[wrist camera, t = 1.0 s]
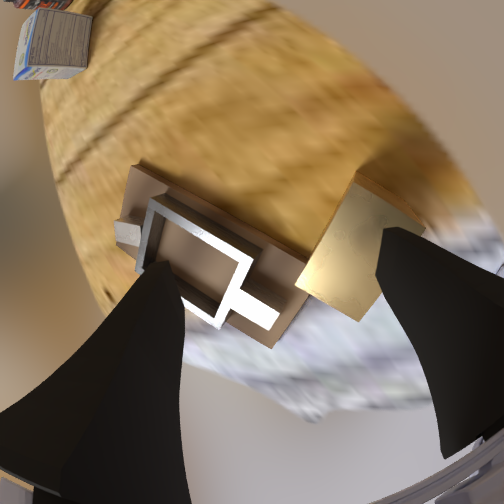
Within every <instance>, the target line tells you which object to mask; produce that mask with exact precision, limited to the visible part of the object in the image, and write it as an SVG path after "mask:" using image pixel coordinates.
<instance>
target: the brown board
mask: <svg viewBox="0 0 504 504" xmlns="http://www.w3.org/2000/svg"><path fill="white" fill-rule="evenodd" d="M114 228H115V237H116V241H117V242H116V245H117V246H118V247H119V248H120V249H122V250H123V251H124V252H126V253H127V254H128V255H130V256H131V257H132V258H134V259H135V260H136V266H135V271H136V272H137V273H138V274H140V275H141V274H142V273H143V272H144V270H145V269H146V268H147V267H148V266H149V265H150V264H151V263H154V262H161V261H167V260H169V263H170V266H171V269H172V272H173V275H174V278H175V281H176V284H177V287H178V290H179V293H180V295H181V298H182V301H183V304H184V306H185V307H186V308H187V309H189V310H190V311H192V312H193V313H194V314H196V315H197V316H199V317H200V318H202V319H204V320H205V321H207V322H208V323H210V324H211V325H213V326H214V327H216V328H217V329H219V330H220V328H221V327H222V326H223V325H224V324H225V322H227V323H229V324H230V325H232V326H233V327H235V328H237V329H238V330H240V331H242V332H243V333H245V334H246V335H248V336H250V337H251V338H253V339H255V340H256V341H258V342H260V343H261V344H263V345H265V346H267V347H268V348H270V349H272V348H273V346H274V345H275V343H276V342H277V341H278V339H279V338H280V336H281V335H282V334H283V332H284V331H285V329H286V328H287V327H288V325H289V324H290V322H291V321H292V319H293V318H294V316H295V315H296V313H297V312H298V310H299V309H300V308H301V306H302V305H303V303H304V302H305V300H306V299H307V297H308V296H309V293H308V292H306V291H304V290H302V289H301V288H299V287H297V286H296V285H295V283H296V282H297V280H298V278H299V276H300V274H301V272H302V270H303V268H304V266H305V264H306V263H307V261H308V259H307V258H306V257H304V256H302V255H300V254H299V253H297V252H295V251H294V250H292V249H290V248H288V247H287V246H285V245H283V244H281V243H280V242H278V241H276V240H274V239H273V238H271V237H269V236H267V235H266V234H264V233H262V232H260V231H259V230H257V229H255V228H253V227H252V226H250V225H248V224H246V223H245V222H243V221H241V220H239V219H237V218H236V217H234V216H232V215H230V214H228V213H227V212H225V211H223V210H221V209H219V208H218V207H216V206H214V205H212V204H210V203H209V202H207V201H205V200H203V199H201V198H200V197H198V196H196V195H194V194H192V193H190V192H189V191H187V190H185V189H183V188H181V187H179V186H178V185H176V184H174V183H172V182H170V181H168V180H166V179H165V178H163V177H161V176H159V175H157V174H155V173H153V172H152V171H150V170H148V169H146V168H144V167H142V166H140V165H138V164H137V165H131V167H130V171H129V175H128V180H127V185H126V189H125V194H124V200H123V205H122V210H121V216H120V218H119V219H117V220H114Z"/></svg>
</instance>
